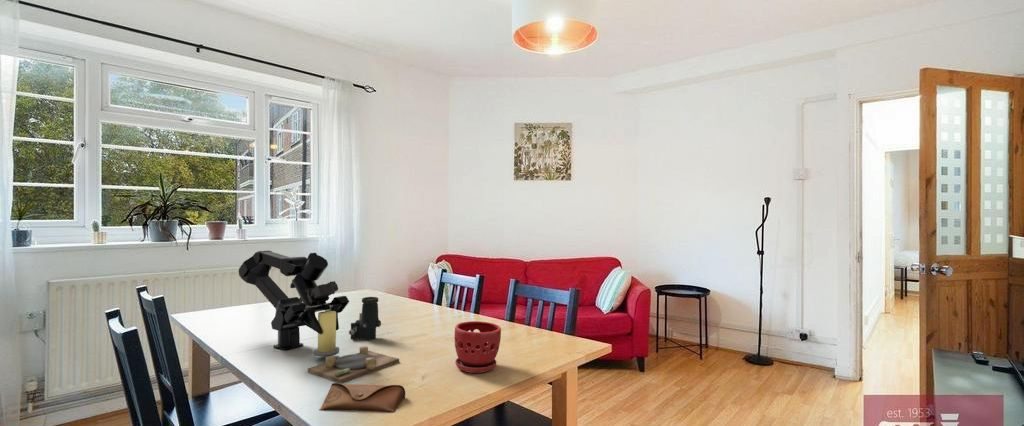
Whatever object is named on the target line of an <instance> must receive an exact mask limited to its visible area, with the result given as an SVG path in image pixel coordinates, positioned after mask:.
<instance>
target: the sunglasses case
mask: <svg viewBox="0 0 1024 426" xmlns="http://www.w3.org/2000/svg"><path fill="white" fill-rule="evenodd" d="M404 399H406V388H405V387H404V386H403V385H400V384H390V385H382V384H381V385H379V384H357V383H355V384H352V383H351V384H347V383H346V384H344V383H338V382H333V383H331V385H330V389H329V390H328V392H327V394H326V396H325V399H324V401H323V403H322V405H321V407H320V408H319V409H318V411H358V412H359V411H360V412H361V411H363V412H364V411H365V412H382V413H383V412H384V413H395V412H396V411H397V410H398V408H399V406H400V405H401V403H403V400H404Z"/></svg>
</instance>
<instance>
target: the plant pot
mask: <svg viewBox="0 0 1024 426" xmlns="http://www.w3.org/2000/svg"><path fill="white" fill-rule="evenodd" d="M476 330H477V331H476ZM478 331H479V332H478ZM501 334H502V328H501V326H500V325H498V324H496V323H493V322H487V321H475V320H474V321H464V322H460V323H459V322H458V323H457V324H456V325H455V327H454V347H455V352H456V353H455V354H456V357H457V358H456V359H455V366H456V367H457V368H458V369H459V370H461V371H462V372H465V373H470V374H471V373H473V374H478V373H487V372H488V371H491V370H492V369H494V368H495V367H496V365H497V360H496V358H497V355H498V353H499V349H500V345H501V339H502V338H501V337H502V335H501Z"/></svg>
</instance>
